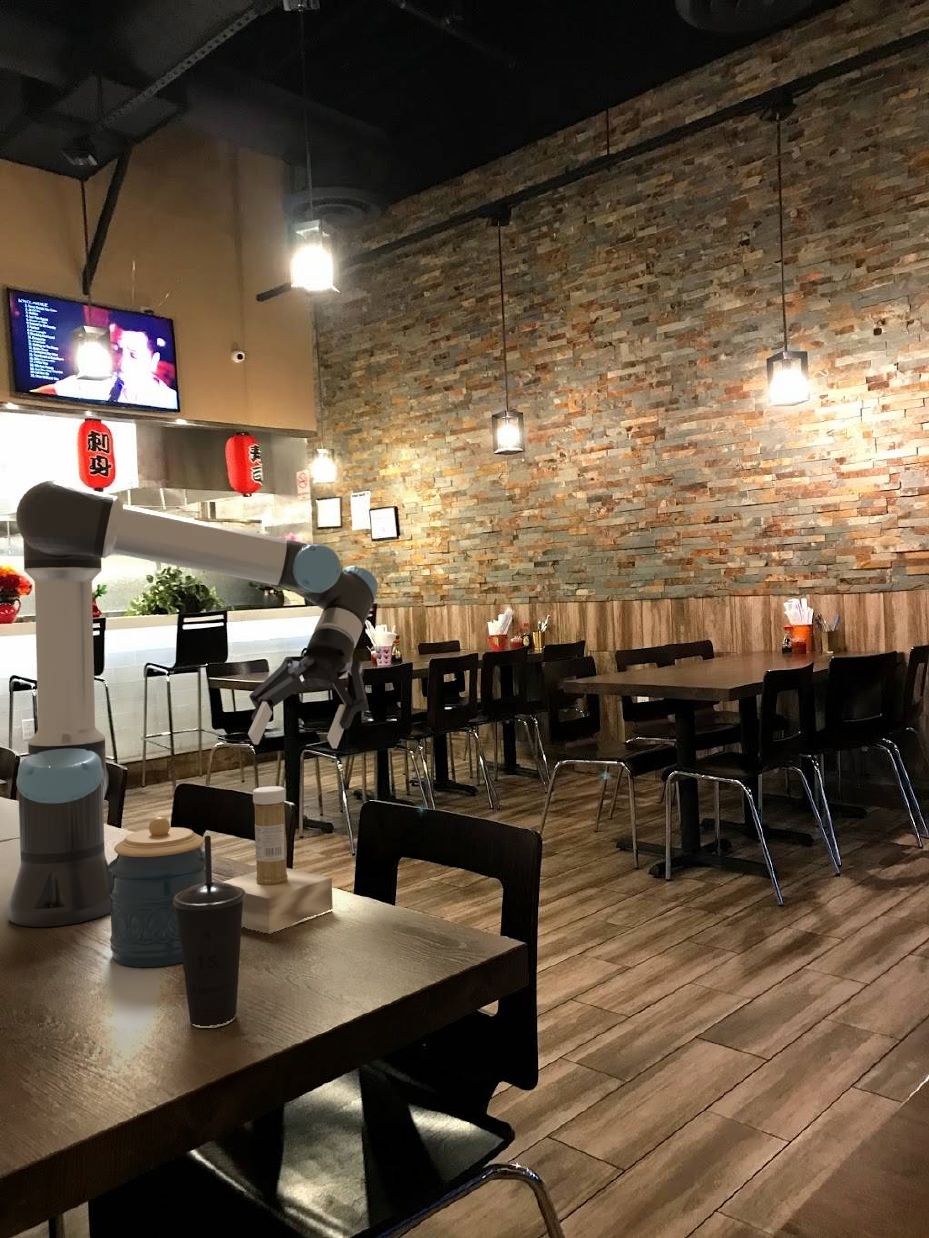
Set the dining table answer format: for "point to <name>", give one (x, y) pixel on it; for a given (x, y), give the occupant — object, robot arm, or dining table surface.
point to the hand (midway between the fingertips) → (291, 741)
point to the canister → (152, 892)
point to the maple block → (283, 899)
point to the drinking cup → (210, 946)
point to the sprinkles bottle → (270, 834)
